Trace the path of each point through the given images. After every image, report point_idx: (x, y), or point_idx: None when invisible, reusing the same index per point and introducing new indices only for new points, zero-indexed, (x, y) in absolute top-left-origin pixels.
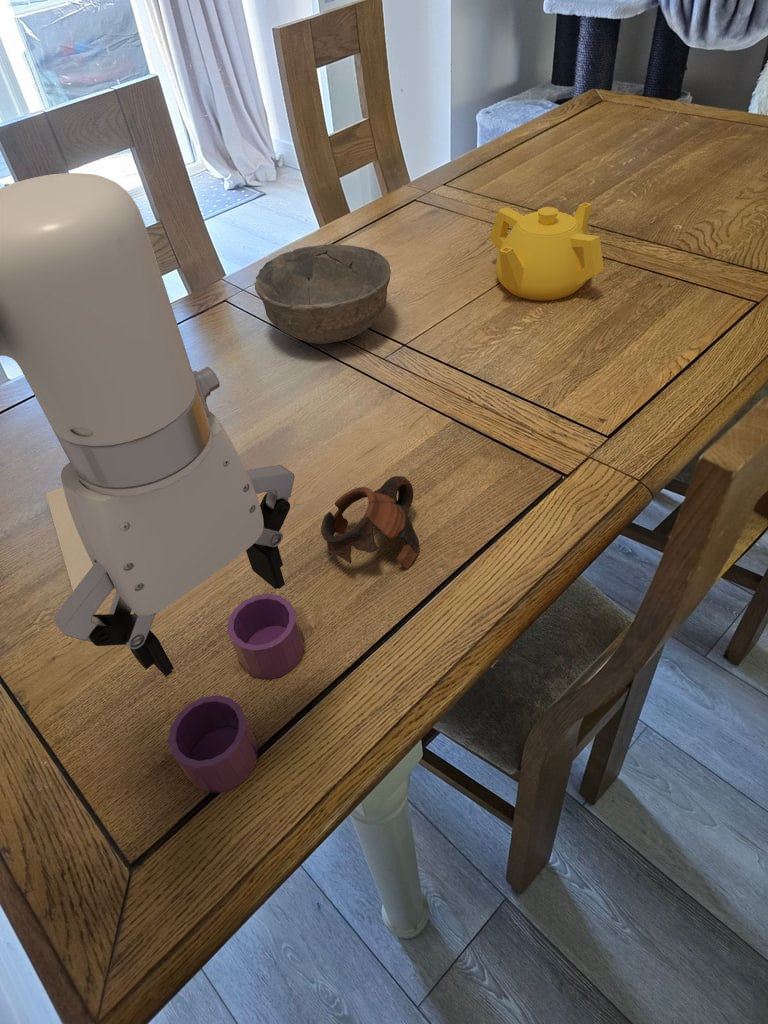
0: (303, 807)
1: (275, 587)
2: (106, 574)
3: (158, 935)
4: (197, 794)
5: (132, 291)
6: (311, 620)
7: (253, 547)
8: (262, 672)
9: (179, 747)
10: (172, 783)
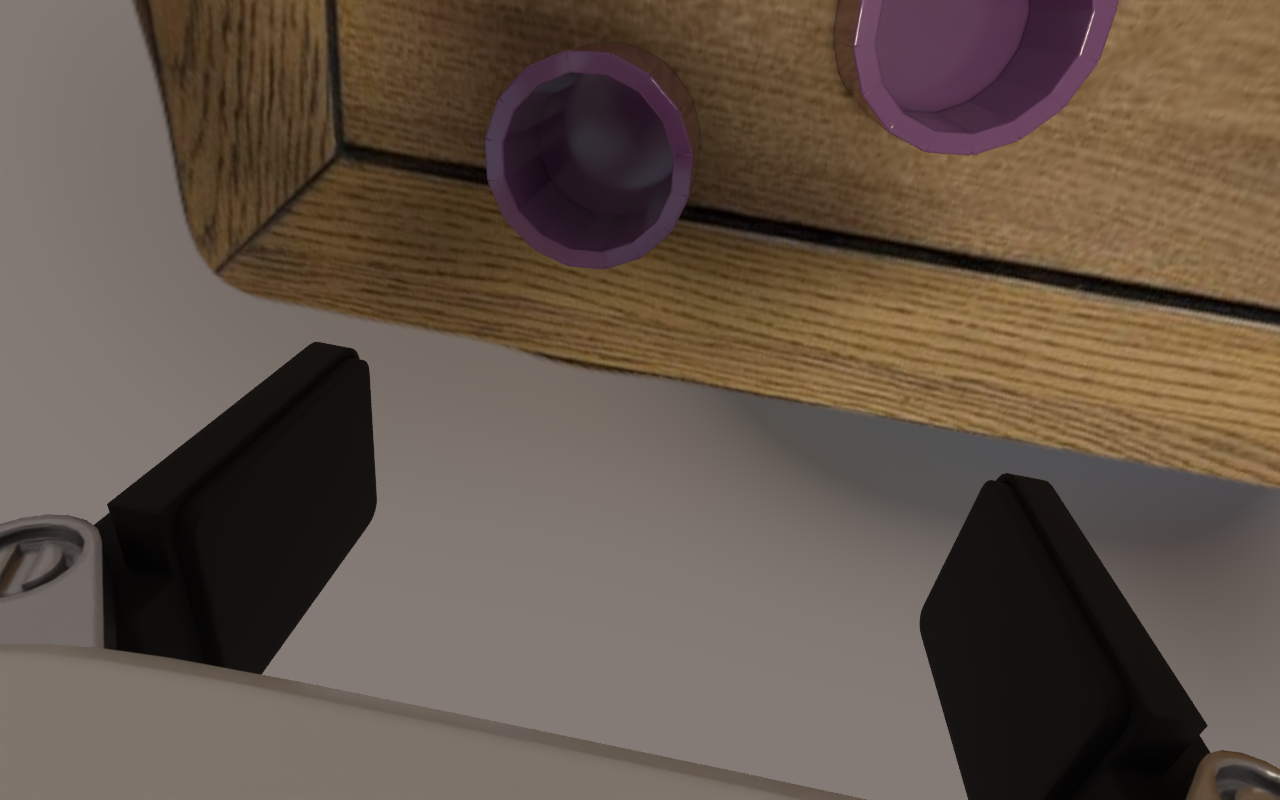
0: (634, 359)
1: (921, 630)
2: None
3: (326, 282)
4: None
5: None
6: None
7: (1043, 773)
8: (845, 82)
9: (518, 116)
10: (498, 81)
